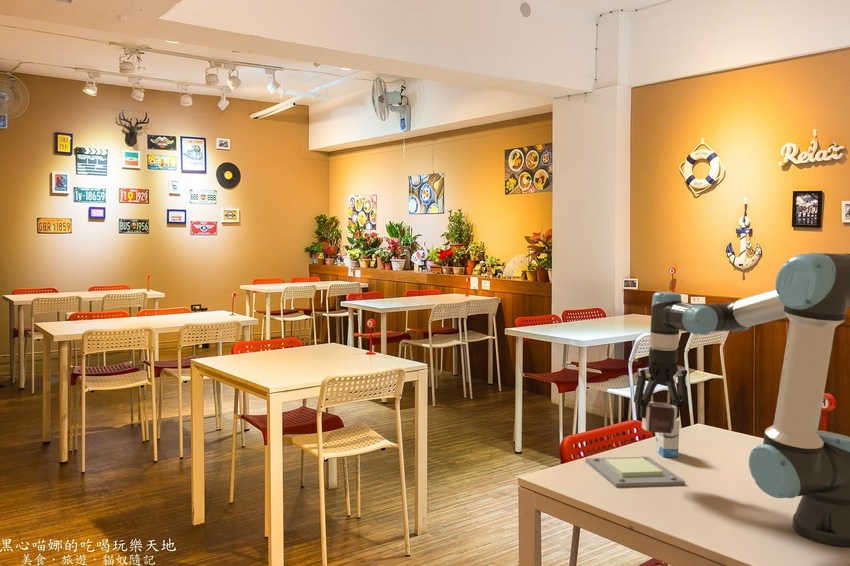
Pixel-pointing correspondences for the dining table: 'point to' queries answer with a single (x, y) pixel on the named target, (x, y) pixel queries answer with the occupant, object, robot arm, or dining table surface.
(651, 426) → the box
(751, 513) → the dining table surface
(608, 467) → the board
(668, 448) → the ink box
